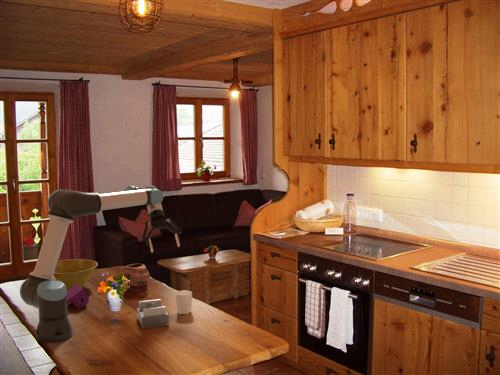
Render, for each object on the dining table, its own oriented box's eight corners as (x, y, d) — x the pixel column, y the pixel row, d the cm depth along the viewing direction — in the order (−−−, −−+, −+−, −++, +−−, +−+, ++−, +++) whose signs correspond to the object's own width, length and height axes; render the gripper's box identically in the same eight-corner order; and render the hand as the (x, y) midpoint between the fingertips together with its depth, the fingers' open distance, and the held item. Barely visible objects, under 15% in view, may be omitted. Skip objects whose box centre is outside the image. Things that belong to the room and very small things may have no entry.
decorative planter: (115, 288, 302) (114, 264, 300) (132, 283, 311) (131, 260, 310) (140, 294, 290) (139, 269, 288) (156, 289, 300) (155, 264, 298)
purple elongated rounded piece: (60, 324, 264) (91, 301, 274) (52, 311, 261) (83, 288, 271) (53, 319, 272) (83, 297, 281) (45, 306, 268) (76, 284, 278)
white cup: (192, 309, 265) (192, 290, 264) (191, 315, 257) (191, 295, 256) (177, 310, 265) (176, 290, 264) (175, 315, 257) (174, 295, 256)
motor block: (168, 325, 245) (168, 307, 244) (142, 328, 241) (141, 310, 240) (162, 315, 258) (162, 298, 257) (137, 318, 254) (136, 301, 253)
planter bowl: (105, 280, 318) (104, 258, 317) (88, 297, 286) (87, 273, 285) (52, 280, 319) (51, 258, 318) (28, 297, 287) (27, 273, 286)
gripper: (178, 212, 286) (189, 246, 276) (132, 220, 278) (140, 257, 268) (179, 204, 280) (190, 239, 270) (131, 213, 272) (140, 250, 262)
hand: (165, 248), depth 269 cm, fingers open, 13 cm apart
